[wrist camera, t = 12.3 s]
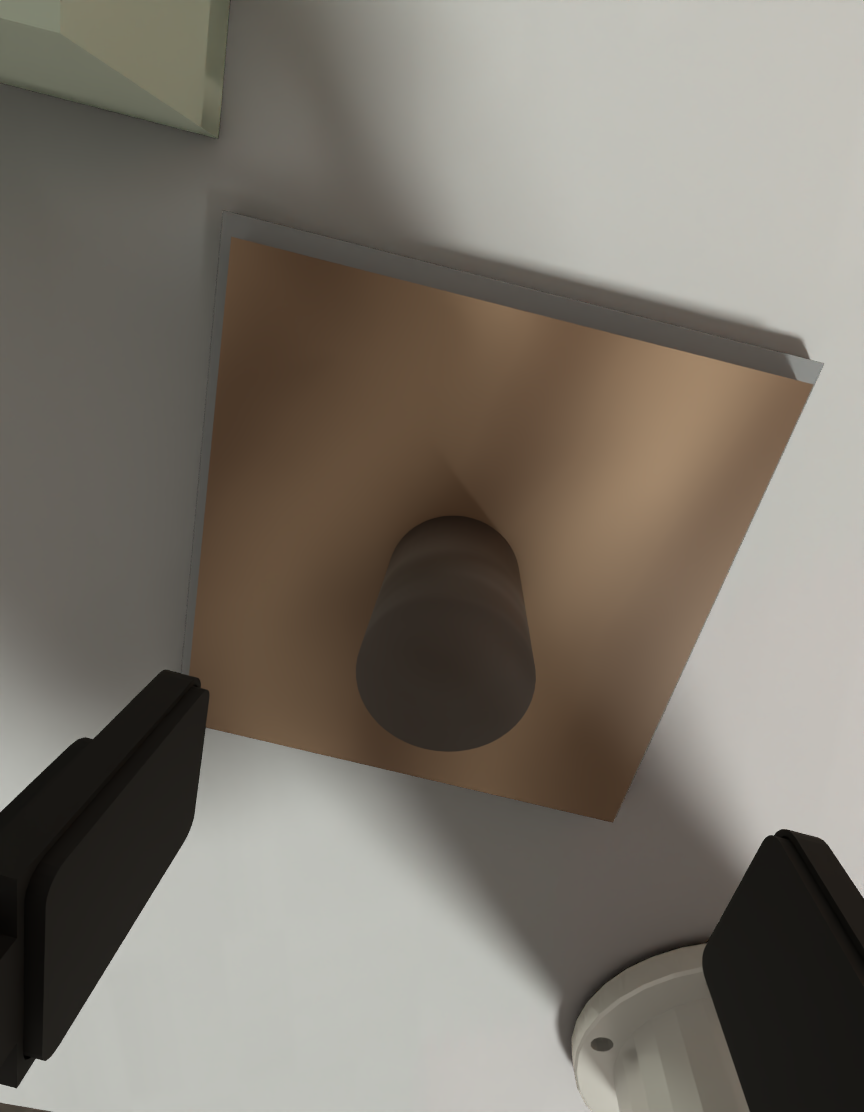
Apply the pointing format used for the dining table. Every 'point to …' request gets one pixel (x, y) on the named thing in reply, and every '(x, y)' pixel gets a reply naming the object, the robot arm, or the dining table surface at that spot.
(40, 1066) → the dining table surface
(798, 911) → the robot arm
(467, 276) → the mat
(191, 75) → the dish
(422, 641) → the lid
